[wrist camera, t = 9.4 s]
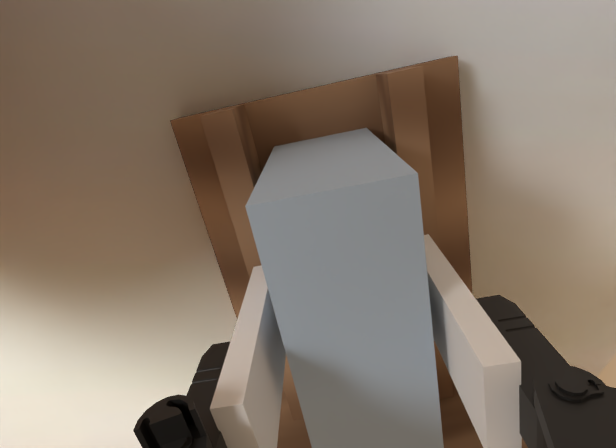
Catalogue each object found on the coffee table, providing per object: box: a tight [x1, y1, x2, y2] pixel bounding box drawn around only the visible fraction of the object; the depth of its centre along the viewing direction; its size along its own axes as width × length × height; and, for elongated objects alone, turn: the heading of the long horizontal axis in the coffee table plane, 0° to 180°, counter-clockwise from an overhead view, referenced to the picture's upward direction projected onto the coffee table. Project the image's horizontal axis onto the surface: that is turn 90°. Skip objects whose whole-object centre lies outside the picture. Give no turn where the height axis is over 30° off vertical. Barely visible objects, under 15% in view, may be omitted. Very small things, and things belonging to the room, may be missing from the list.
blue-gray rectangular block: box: [245, 128, 444, 448], centre depth 14 cm, size 10×4×8 cm, turn 11°
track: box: [170, 56, 528, 448], centre depth 14 cm, size 17×12×11 cm
